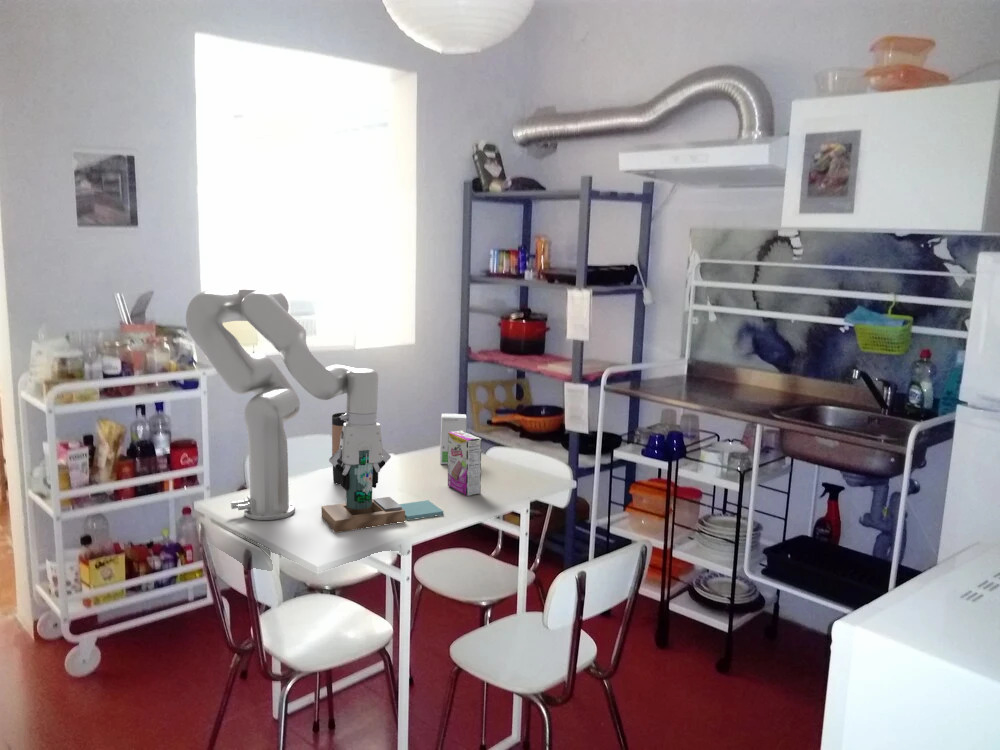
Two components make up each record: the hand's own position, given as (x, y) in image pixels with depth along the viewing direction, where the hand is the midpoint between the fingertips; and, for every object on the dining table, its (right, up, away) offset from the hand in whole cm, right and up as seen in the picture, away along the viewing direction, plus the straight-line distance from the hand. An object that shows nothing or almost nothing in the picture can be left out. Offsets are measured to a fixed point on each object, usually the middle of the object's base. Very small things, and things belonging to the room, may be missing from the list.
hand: (359, 487), depth 198 cm
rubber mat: (+14, -8, +8) cm, 18 cm away
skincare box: (+20, 0, +58) cm, 61 cm away
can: (0, -5, +1) cm, 5 cm away
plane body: (+1, -8, +1) cm, 9 cm away
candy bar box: (+25, -5, +28) cm, 38 cm away
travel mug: (-10, -3, +34) cm, 35 cm away
